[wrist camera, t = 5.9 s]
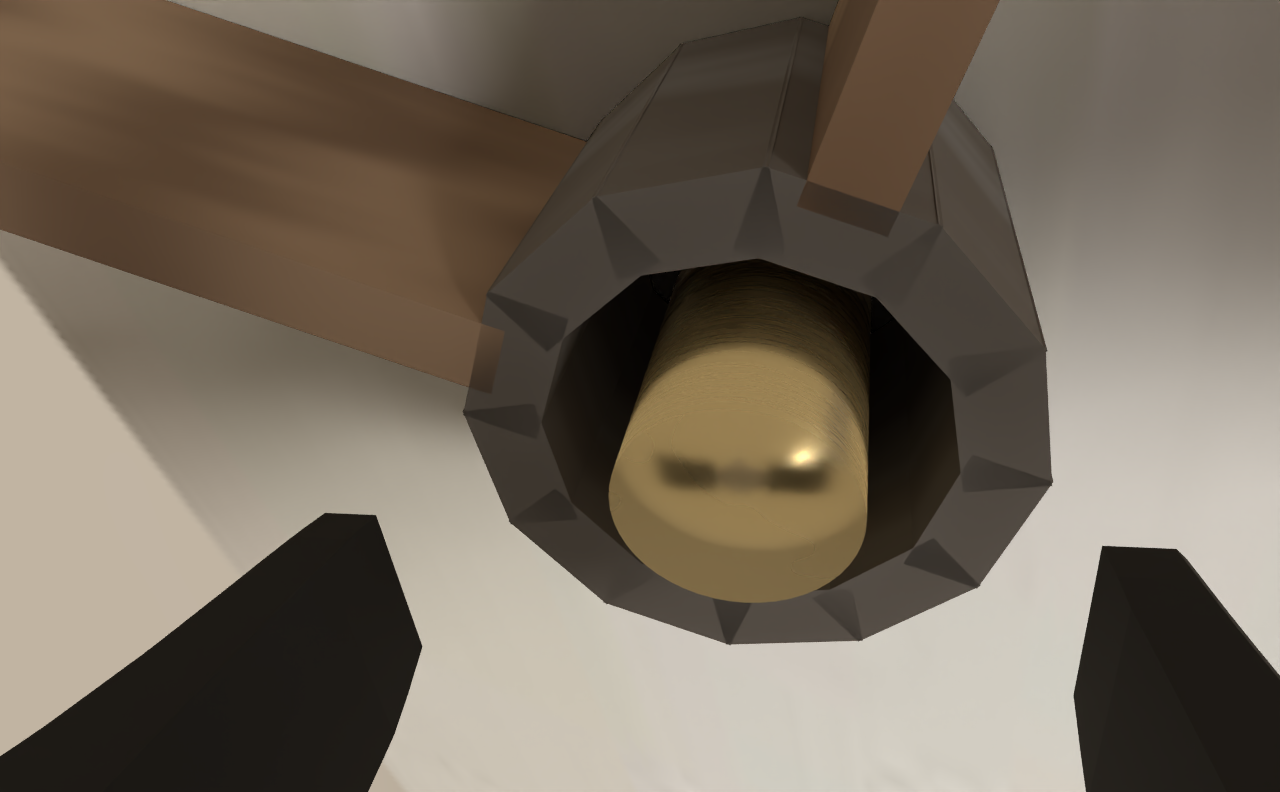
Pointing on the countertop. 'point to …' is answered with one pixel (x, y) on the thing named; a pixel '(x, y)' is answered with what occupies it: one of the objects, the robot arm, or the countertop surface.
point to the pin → (750, 435)
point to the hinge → (576, 252)
